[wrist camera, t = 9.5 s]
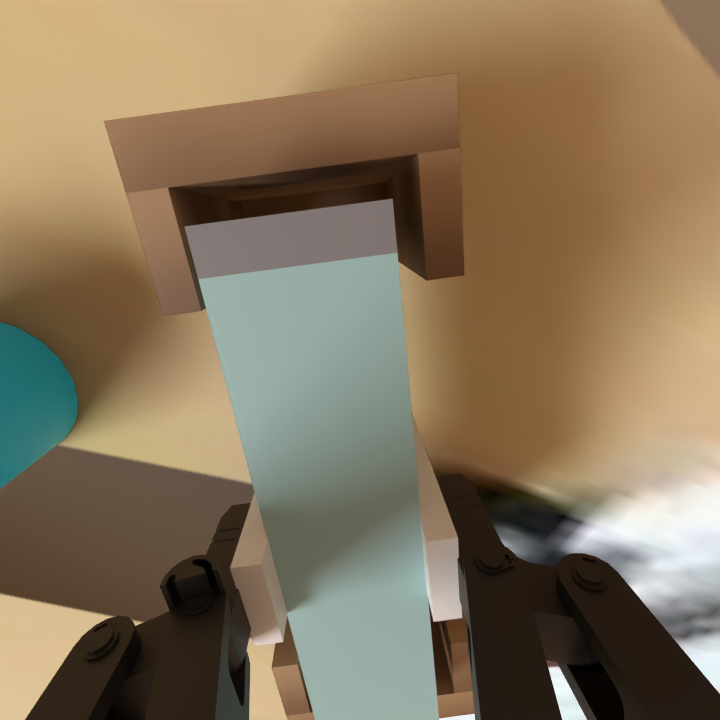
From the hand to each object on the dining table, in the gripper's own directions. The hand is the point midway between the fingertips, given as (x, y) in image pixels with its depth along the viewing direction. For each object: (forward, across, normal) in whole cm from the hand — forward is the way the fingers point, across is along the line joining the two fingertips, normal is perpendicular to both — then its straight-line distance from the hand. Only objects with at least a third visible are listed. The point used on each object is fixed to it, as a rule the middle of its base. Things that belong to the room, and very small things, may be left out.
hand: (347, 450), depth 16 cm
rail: (0, 0, 0) cm, 0 cm away
